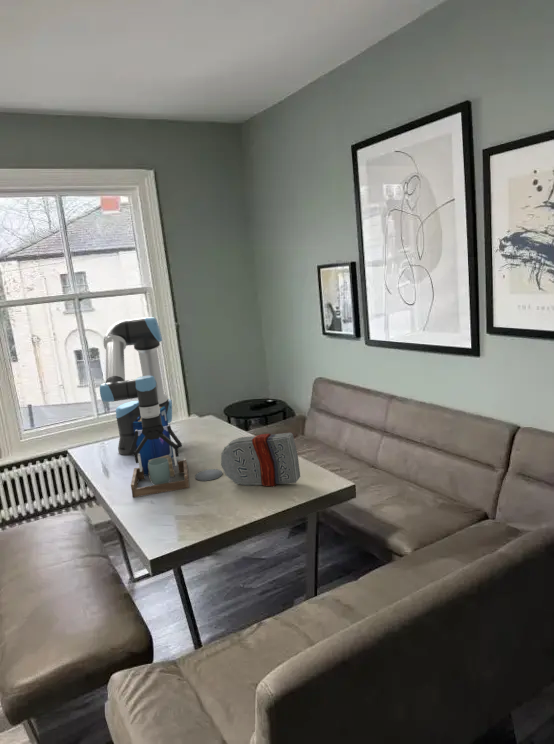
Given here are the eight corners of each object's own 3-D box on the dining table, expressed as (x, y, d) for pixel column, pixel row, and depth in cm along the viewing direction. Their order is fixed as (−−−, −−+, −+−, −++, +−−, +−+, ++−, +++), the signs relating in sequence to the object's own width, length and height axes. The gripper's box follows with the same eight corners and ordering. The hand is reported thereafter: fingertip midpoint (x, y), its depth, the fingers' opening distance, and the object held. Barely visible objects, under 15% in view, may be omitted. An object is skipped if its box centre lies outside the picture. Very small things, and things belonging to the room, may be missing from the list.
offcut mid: (148, 472, 230) (147, 466, 229) (170, 467, 234) (169, 460, 233) (151, 475, 226) (150, 469, 226) (173, 470, 230) (172, 463, 229)
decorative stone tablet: (294, 430, 206) (221, 437, 217) (288, 435, 200) (214, 442, 211) (303, 479, 209) (231, 483, 220) (298, 486, 203) (225, 490, 214)
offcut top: (149, 466, 229) (148, 460, 229) (168, 460, 233) (167, 454, 233) (152, 468, 226) (151, 462, 225) (172, 463, 230) (171, 457, 229)
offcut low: (149, 478, 231) (148, 472, 230) (173, 473, 234) (172, 467, 234) (150, 482, 227) (149, 475, 226) (175, 476, 230) (174, 470, 229)
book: (155, 477, 231) (145, 419, 226) (139, 477, 233) (129, 420, 228) (174, 458, 252) (166, 405, 247) (159, 458, 253) (151, 406, 249)
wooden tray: (135, 479, 230) (134, 468, 229) (187, 471, 234) (186, 459, 233) (132, 497, 212) (130, 485, 211) (189, 487, 215) (187, 475, 214)
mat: (194, 473, 230) (194, 471, 230) (221, 468, 232) (221, 467, 232) (195, 482, 220) (195, 481, 220) (223, 478, 222) (223, 476, 221)
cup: (175, 481, 223) (171, 458, 221) (163, 489, 216) (159, 465, 214) (159, 480, 227) (155, 457, 225) (147, 488, 220) (143, 464, 218)
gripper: (116, 423, 210) (125, 476, 214) (183, 413, 214) (190, 465, 218) (118, 418, 218) (127, 469, 221) (182, 408, 222) (190, 459, 225)
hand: (158, 467), depth 220 cm, fingers open, 13 cm apart
